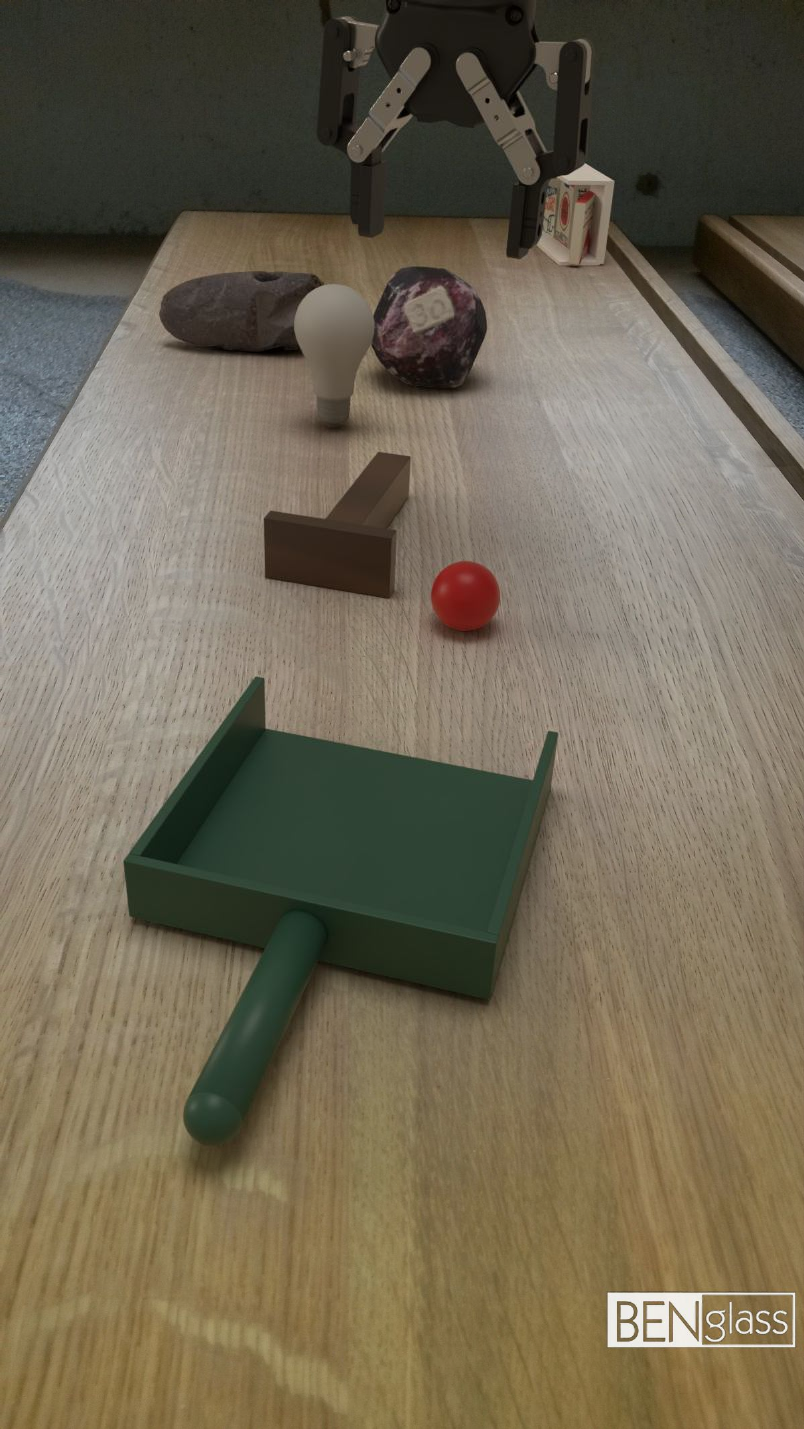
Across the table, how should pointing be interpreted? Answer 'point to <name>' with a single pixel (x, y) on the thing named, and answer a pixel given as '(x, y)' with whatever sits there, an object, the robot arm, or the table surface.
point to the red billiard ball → (465, 595)
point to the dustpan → (330, 877)
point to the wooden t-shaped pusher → (344, 535)
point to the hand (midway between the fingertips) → (442, 245)
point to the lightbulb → (334, 345)
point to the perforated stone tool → (237, 309)
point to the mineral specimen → (428, 327)
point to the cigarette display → (577, 217)
